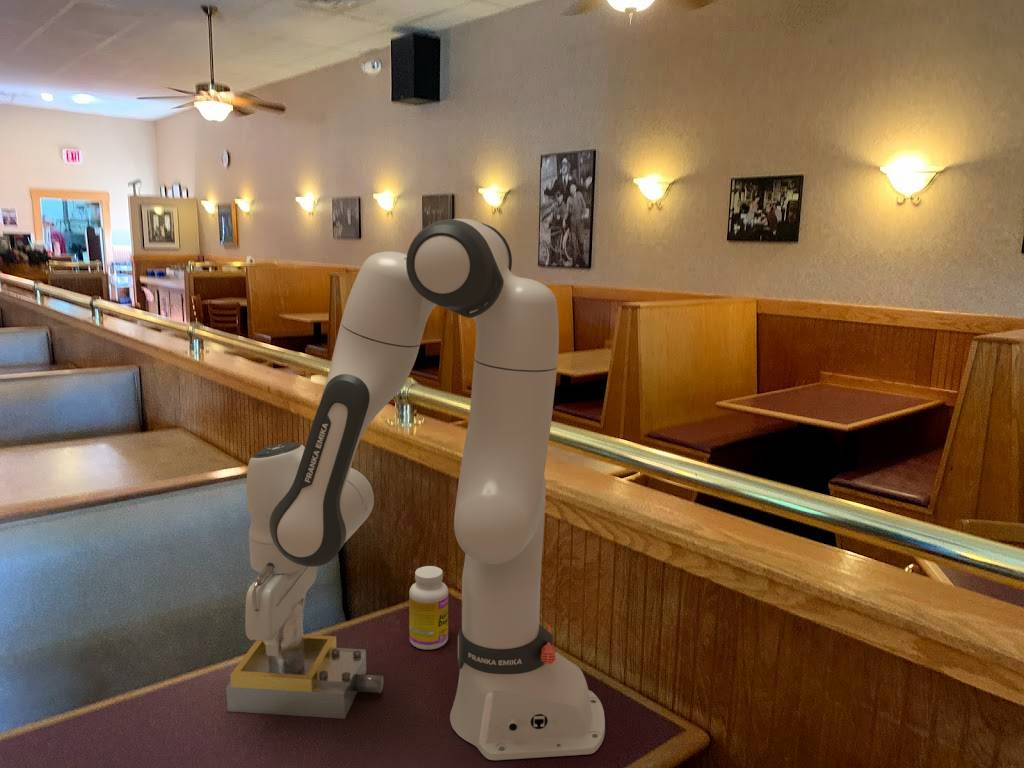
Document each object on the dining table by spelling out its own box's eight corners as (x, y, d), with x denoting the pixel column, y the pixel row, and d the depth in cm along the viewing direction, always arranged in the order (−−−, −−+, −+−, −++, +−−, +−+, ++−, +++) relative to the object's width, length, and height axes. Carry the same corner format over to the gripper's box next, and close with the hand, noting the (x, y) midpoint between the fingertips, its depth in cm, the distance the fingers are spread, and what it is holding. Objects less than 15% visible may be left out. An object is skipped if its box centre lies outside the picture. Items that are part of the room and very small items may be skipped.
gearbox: (390, 673, 124) (390, 639, 123) (371, 720, 112) (371, 683, 111) (259, 665, 125) (258, 631, 124) (227, 711, 114) (225, 674, 112)
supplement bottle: (441, 653, 130) (441, 582, 127) (404, 648, 131) (403, 578, 129) (452, 633, 136) (453, 565, 134) (416, 629, 138) (416, 561, 135)
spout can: (308, 658, 121) (306, 595, 118) (297, 677, 116) (294, 611, 113) (262, 655, 121) (259, 592, 119) (249, 674, 116) (245, 608, 114)
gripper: (275, 583, 104) (280, 676, 107) (323, 526, 124) (326, 605, 127) (230, 581, 104) (236, 674, 107) (285, 524, 124) (289, 603, 127)
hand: (285, 636), depth 117 cm, fingers open, 8 cm apart
